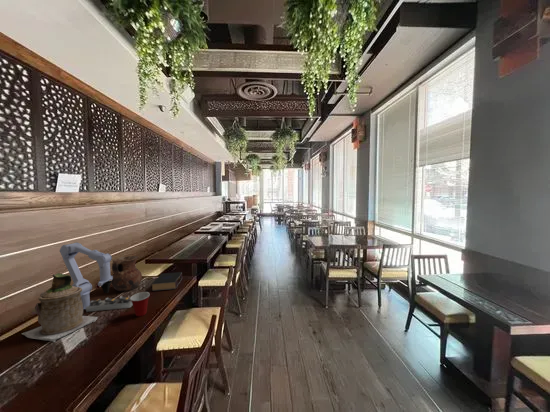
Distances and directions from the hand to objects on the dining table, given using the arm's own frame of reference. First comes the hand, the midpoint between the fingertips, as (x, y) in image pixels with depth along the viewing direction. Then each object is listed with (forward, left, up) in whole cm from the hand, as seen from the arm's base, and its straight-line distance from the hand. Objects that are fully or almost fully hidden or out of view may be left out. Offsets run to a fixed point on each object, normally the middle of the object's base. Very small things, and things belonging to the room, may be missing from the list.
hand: (106, 292), depth 159 cm
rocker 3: (+11, 0, -6) cm, 12 cm away
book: (+29, +36, -11) cm, 48 cm away
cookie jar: (-13, -22, -11) cm, 27 cm away
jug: (-2, +36, -11) cm, 38 cm away
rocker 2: (+2, 0, -6) cm, 6 cm away
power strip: (+2, +1, -10) cm, 11 cm away
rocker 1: (-6, 0, -6) cm, 9 cm away
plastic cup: (+26, -15, -11) cm, 32 cm away
